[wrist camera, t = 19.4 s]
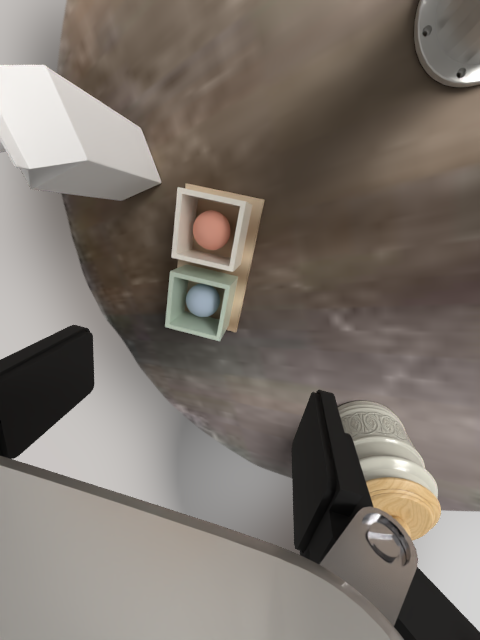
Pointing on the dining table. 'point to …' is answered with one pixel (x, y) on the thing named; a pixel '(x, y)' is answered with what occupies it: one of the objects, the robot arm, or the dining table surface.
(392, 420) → the jar
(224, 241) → the coral ball
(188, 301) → the slate ball
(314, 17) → the dining table surface
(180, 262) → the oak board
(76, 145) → the milk carton
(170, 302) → the sage cup
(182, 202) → the cream cup
